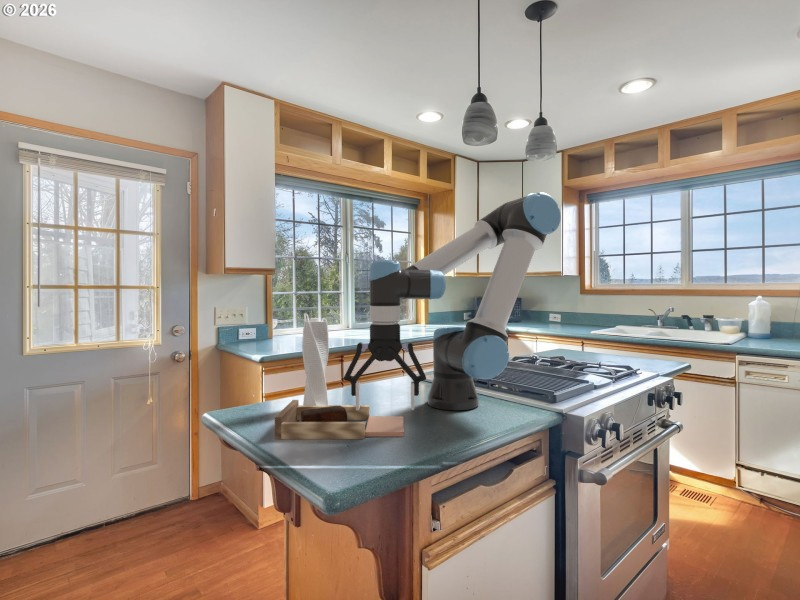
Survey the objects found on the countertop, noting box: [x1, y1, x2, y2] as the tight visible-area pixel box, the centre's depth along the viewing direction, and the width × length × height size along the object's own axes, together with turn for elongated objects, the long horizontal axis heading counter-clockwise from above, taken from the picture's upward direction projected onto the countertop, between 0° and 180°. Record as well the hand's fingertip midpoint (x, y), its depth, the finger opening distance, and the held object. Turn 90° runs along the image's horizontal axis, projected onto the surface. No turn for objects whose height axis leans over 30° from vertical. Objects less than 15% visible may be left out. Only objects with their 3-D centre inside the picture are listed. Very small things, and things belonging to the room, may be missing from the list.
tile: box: [365, 415, 405, 437], centre depth 106 cm, size 9×13×1 cm
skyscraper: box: [301, 312, 330, 405], centre depth 124 cm, size 8×8×28 cm
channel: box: [274, 399, 371, 440], centre depth 106 cm, size 20×16×5 cm
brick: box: [300, 404, 348, 422], centre depth 104 cm, size 11×4×5 cm, turn 111°
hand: (385, 408), depth 106 cm, fingers open, 13 cm apart
